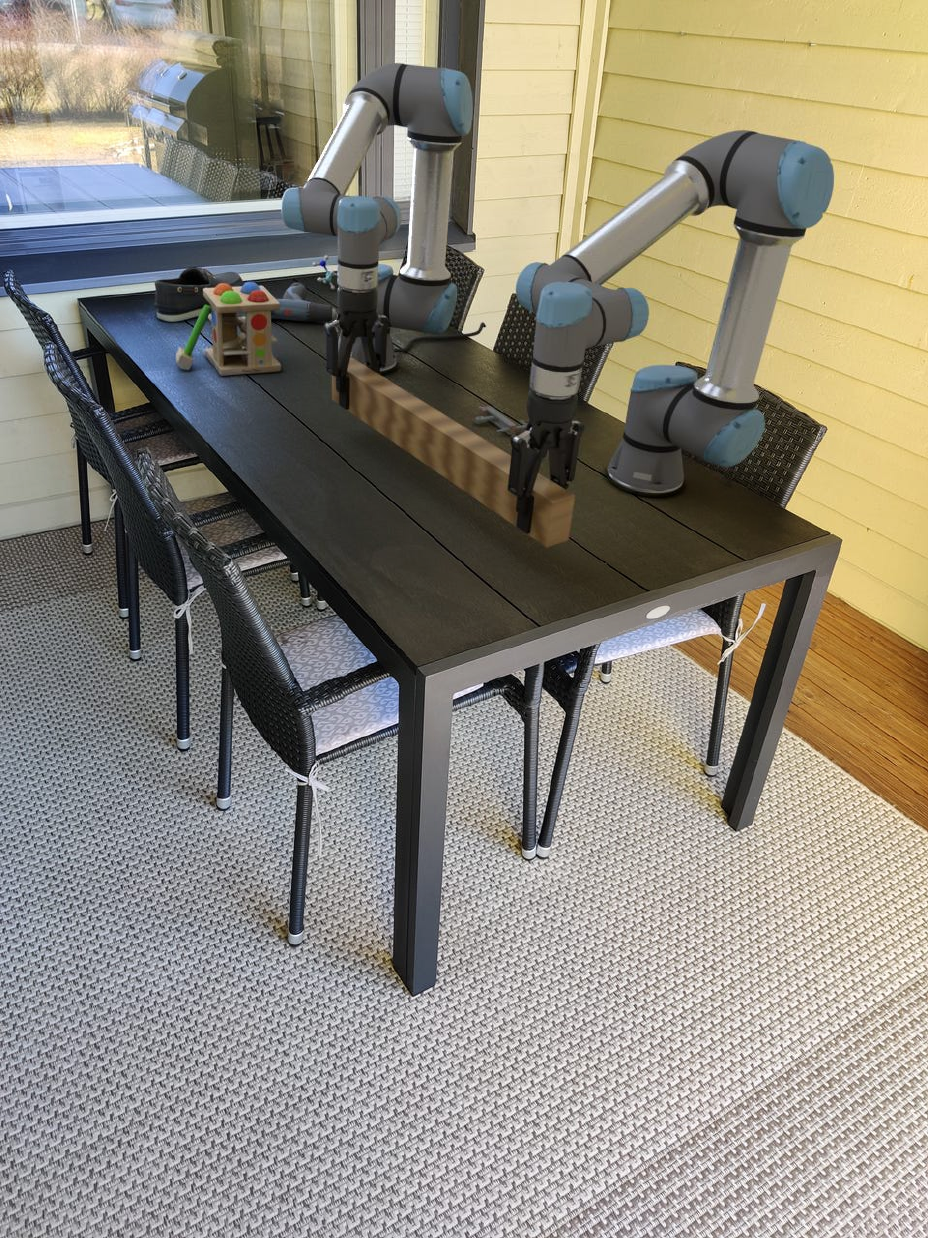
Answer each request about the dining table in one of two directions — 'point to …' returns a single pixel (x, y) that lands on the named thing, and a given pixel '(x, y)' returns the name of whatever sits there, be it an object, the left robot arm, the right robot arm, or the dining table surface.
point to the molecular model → (328, 274)
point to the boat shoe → (188, 292)
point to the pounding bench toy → (229, 347)
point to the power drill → (301, 307)
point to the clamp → (498, 420)
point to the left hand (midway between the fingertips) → (356, 404)
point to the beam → (454, 452)
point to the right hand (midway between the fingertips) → (535, 525)
